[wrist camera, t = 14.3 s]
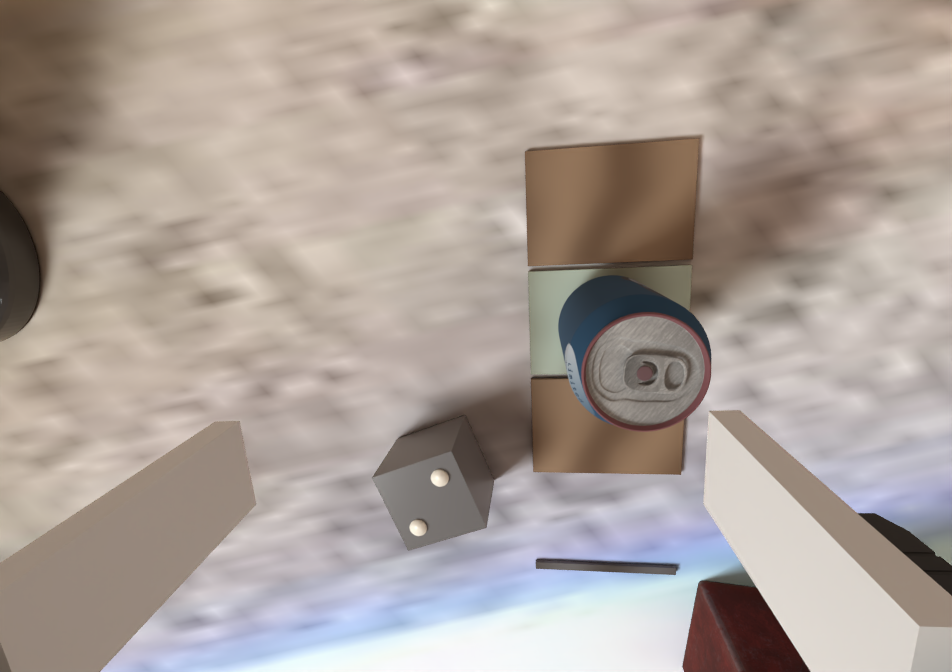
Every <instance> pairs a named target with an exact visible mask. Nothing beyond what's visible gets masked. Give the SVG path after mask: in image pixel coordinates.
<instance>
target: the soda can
mask: <svg viewBox="0 0 952 672" xmlns="http://www.w3.org/2000/svg"><path fill="white" fill-rule="evenodd" d="M558 332H559V338H560V343H561V347H562V352H563V356H564V361H565V366H566V370H567V375H568V379H569V383H570V385H571V388H572V390H573V392H574V394H575V396H576V397H577V399H578V400H579V402H580V403H581V404H582V405H583V406H584V407H585V408H586V409H587V410H588V411H589V412H590V413H591V414H593V415H594V416H596V417H597V418H599V419H600V420H602V421H604V422H606V423H609V424H612V425H615V426H617V427H619V428H622V429H626V430H630V431H637V432H650V431H657V430H662V429H665V428H668V427H671V426H673V425H675V424H677V423H679V422H681V421H682V420H684V419H685V418H687V417H688V416H689V415H690V414H691V413H692V412H693V411H694V410H695V409H696V408H697V407H698V406H699V404H700V403H701V402H702V400H703V398H704V396H705V395H706V392H707V390H708V387H709V383H710V379H711V349H710V344H709V340H708V337H707V335H706V333H705V331H704V329H703V327H702V325H701V324H700V322H699V321H698V320H697V319H696V318H695V316H694V315H693V314H692V313H691V312H689V311H688V310H687V309H686V308H684V307H683V306H681V305H680V304H678V303H676V302H674V301H672V300H671V299H669V298H667V297H665V296H663V295H662V294H660V293H658V292H656V291H654V290H652V289H651V288H649V287H647V286H645V285H643V284H642V283H640V282H638V281H636V280H634V279H631V278H628V277H625V276H618V275H607V276H601V277H597V278H594V279H591V280H589V281H587V282H585V283H583V284H582V285H580V286H579V287H578V288H577V289H575V290H574V291H573V292H572V293H571V295H570V296H569V297H568V298H567V300H566V302H565V303H564V305H563V307H562V310H561V313H560V316H559V322H558Z"/></svg>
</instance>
